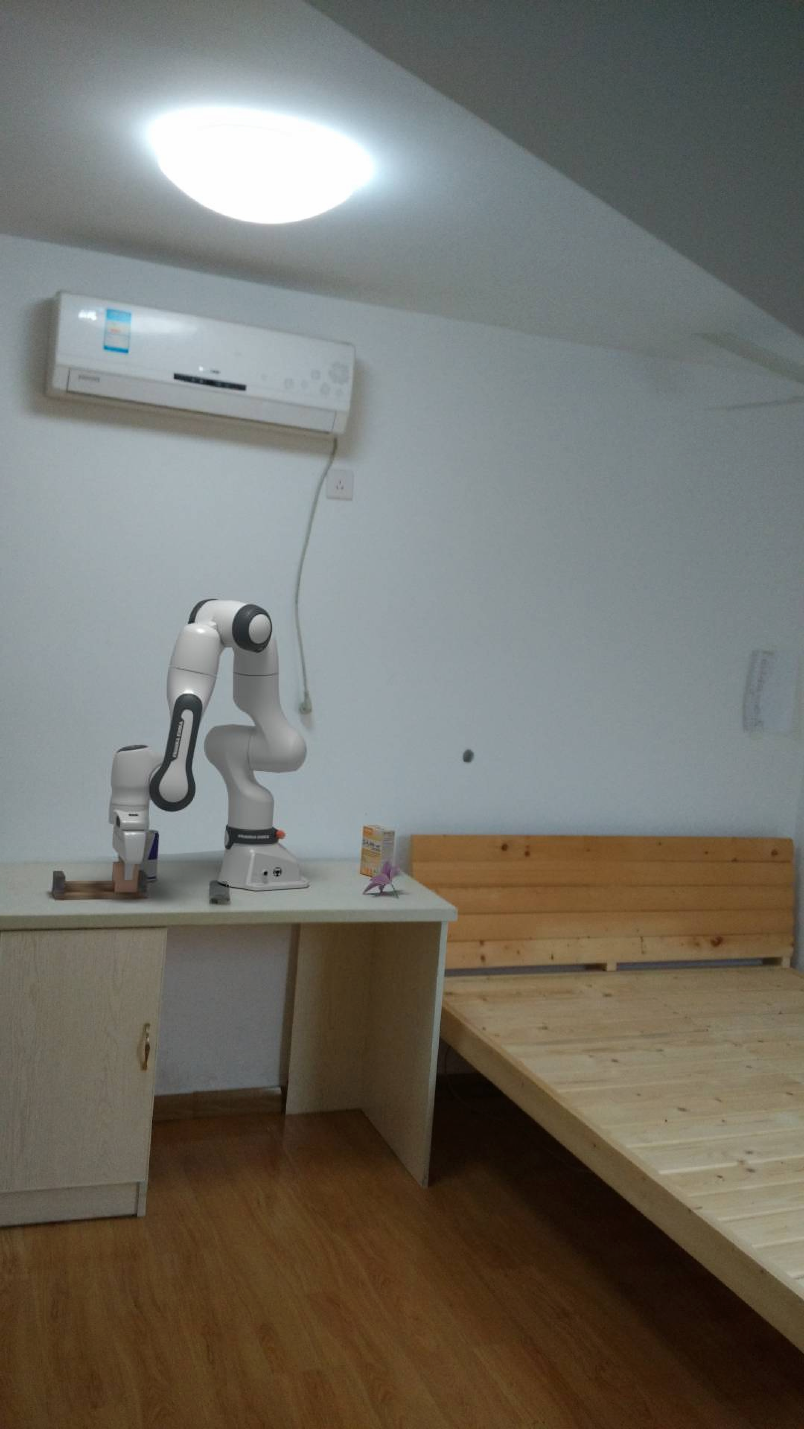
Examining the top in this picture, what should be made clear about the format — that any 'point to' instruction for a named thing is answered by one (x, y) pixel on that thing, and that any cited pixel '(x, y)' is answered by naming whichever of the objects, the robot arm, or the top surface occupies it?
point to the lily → (384, 876)
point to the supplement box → (376, 848)
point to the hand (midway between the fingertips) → (125, 875)
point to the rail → (94, 888)
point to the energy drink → (150, 855)
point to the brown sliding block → (120, 882)
